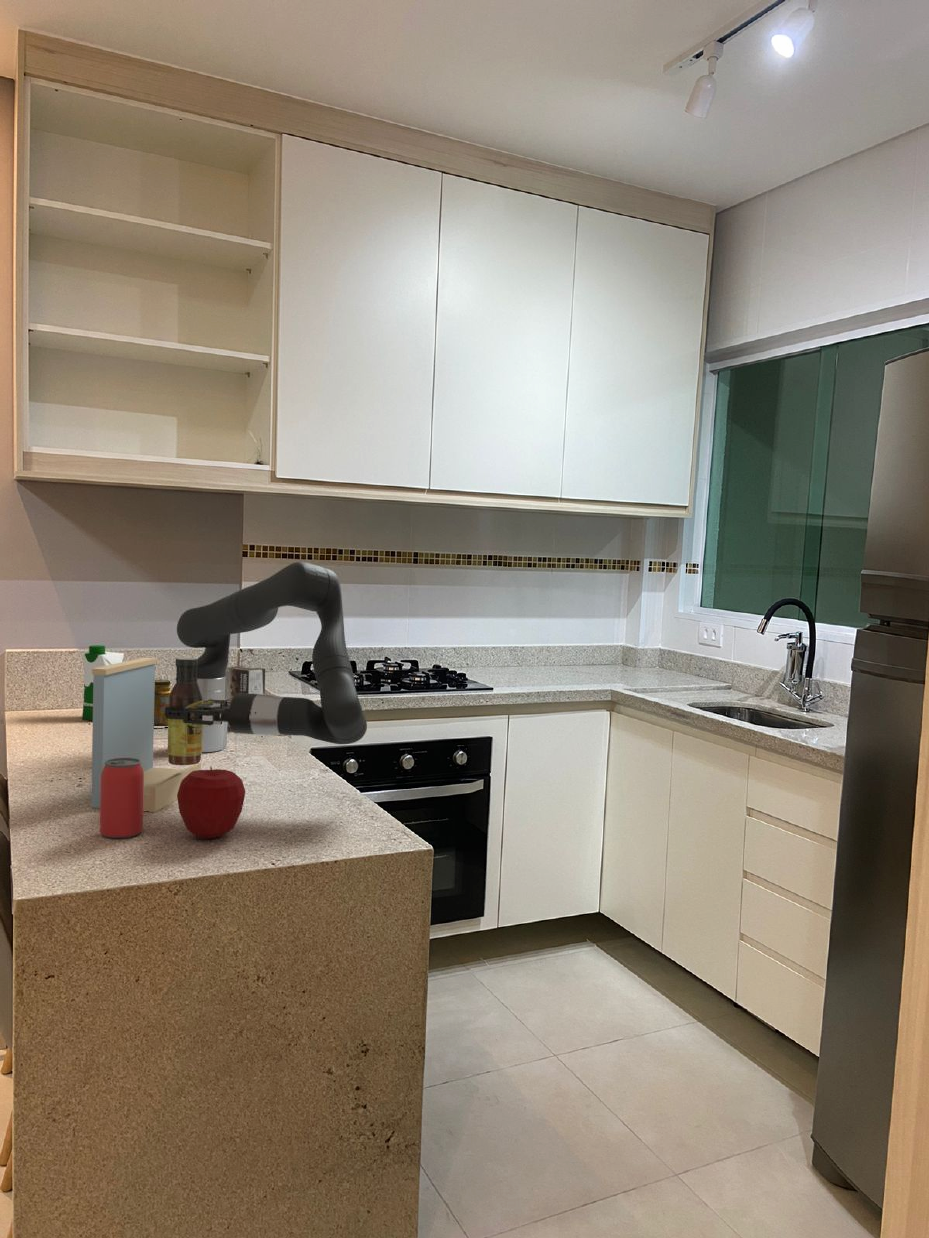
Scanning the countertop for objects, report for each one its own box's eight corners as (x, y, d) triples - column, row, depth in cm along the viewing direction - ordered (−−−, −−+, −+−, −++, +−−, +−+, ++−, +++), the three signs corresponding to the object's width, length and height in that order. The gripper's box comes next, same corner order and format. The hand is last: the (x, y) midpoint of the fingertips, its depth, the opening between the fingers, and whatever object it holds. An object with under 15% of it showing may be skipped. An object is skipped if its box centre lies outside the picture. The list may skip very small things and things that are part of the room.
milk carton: (76, 719, 247) (78, 645, 246) (102, 715, 255) (104, 643, 254) (101, 723, 243) (102, 648, 242) (126, 718, 252) (128, 645, 250)
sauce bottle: (192, 767, 170) (192, 661, 169) (161, 765, 171) (161, 659, 170) (208, 760, 177) (209, 657, 175) (178, 757, 178) (179, 655, 176)
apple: (207, 851, 144) (209, 777, 143) (161, 837, 149) (162, 766, 149) (258, 835, 153) (260, 765, 152) (212, 823, 159) (214, 756, 158)
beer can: (106, 827, 154) (108, 756, 153) (147, 828, 154) (148, 757, 153) (94, 839, 147) (95, 765, 146) (136, 840, 148) (138, 766, 147)
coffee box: (265, 728, 247) (266, 668, 246) (247, 731, 241) (249, 670, 240) (240, 723, 251) (242, 664, 250) (222, 726, 246) (224, 666, 245)
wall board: (141, 781, 185) (144, 657, 183) (200, 785, 183) (203, 660, 182) (89, 807, 165) (92, 668, 163) (155, 812, 164) (158, 672, 162)
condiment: (170, 722, 249) (171, 678, 248) (175, 728, 241) (176, 682, 240) (142, 723, 246) (143, 679, 245) (146, 729, 238) (147, 683, 237)
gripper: (272, 689, 179) (189, 684, 181) (246, 700, 164) (156, 695, 166) (271, 727, 179) (188, 722, 181) (245, 741, 165) (155, 736, 167)
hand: (173, 709), depth 174 cm, fingers closed on sauce bottle, 6 cm apart
